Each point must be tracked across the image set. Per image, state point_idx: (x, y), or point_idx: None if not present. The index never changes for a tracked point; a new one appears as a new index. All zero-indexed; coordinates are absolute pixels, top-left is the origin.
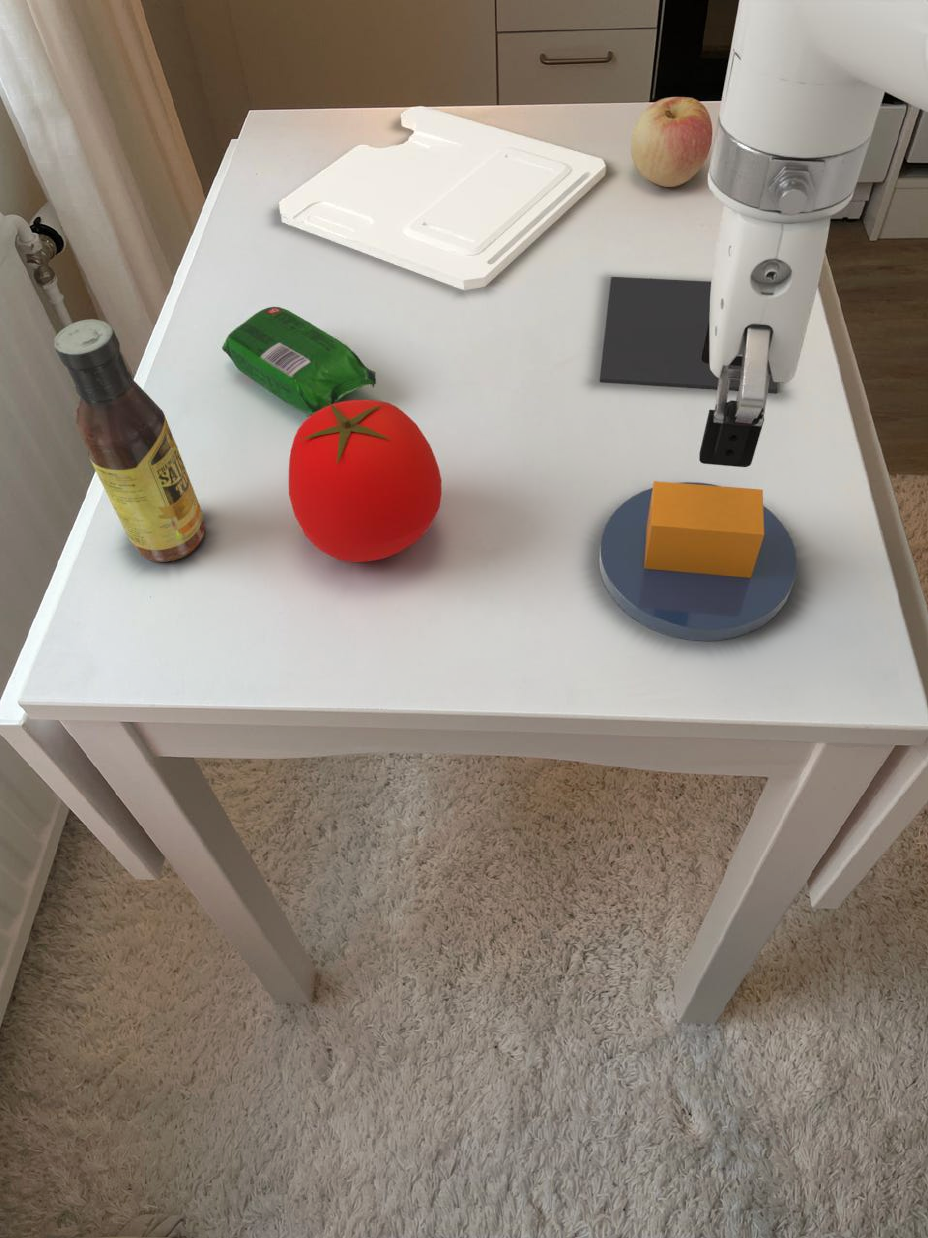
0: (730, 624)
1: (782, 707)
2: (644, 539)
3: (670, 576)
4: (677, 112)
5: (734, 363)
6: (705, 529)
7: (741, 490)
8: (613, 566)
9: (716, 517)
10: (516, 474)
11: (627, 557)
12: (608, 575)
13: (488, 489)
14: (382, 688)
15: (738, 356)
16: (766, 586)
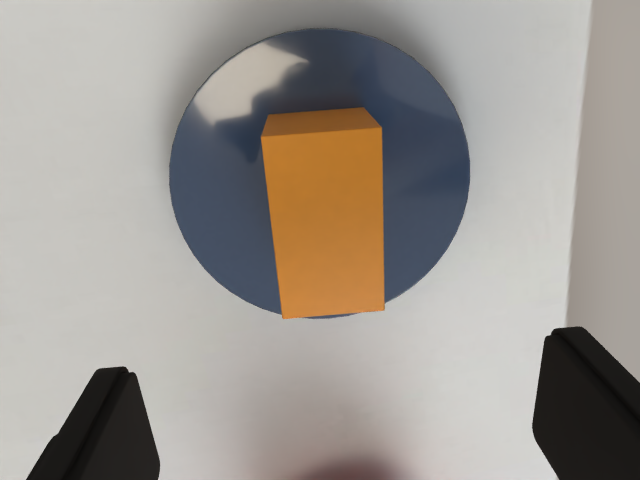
0: (459, 132)
1: (570, 37)
2: None
3: None
4: None
5: (139, 401)
6: (382, 229)
7: (272, 175)
8: None
9: (351, 214)
10: (210, 414)
11: None
12: (386, 301)
13: (245, 436)
14: (539, 461)
15: (128, 416)
16: (378, 80)
